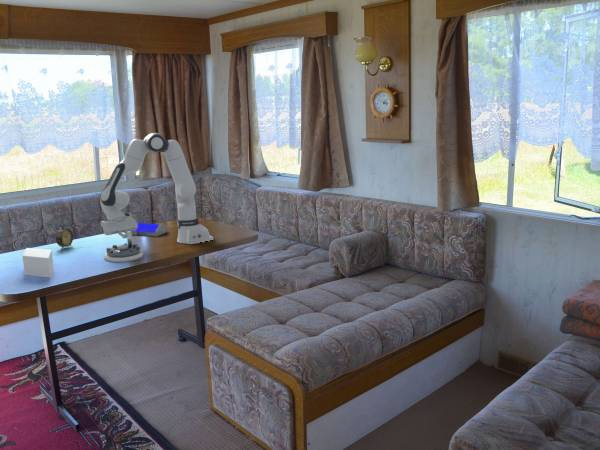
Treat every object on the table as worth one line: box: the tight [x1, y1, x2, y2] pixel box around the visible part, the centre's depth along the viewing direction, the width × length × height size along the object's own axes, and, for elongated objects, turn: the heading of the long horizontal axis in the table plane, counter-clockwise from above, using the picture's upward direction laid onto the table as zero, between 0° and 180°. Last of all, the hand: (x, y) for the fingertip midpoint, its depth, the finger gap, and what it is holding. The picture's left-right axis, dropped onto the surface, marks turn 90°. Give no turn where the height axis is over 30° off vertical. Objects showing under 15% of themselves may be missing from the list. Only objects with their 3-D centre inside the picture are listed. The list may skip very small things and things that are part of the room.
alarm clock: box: [55, 221, 74, 251], centre depth 325 cm, size 11×5×16 cm, turn 168°
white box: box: [21, 247, 54, 278], centre depth 281 cm, size 14×29×10 cm, turn 46°
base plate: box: [103, 244, 144, 263], centre depth 306 cm, size 21×21×6 cm
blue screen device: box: [131, 222, 167, 237], centre depth 361 cm, size 22×14×7 cm, turn 72°
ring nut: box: [105, 231, 141, 257], centre depth 305 cm, size 18×18×11 cm
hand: (125, 237), depth 316 cm, fingers closed
